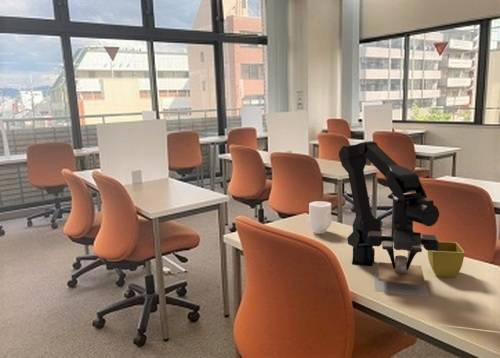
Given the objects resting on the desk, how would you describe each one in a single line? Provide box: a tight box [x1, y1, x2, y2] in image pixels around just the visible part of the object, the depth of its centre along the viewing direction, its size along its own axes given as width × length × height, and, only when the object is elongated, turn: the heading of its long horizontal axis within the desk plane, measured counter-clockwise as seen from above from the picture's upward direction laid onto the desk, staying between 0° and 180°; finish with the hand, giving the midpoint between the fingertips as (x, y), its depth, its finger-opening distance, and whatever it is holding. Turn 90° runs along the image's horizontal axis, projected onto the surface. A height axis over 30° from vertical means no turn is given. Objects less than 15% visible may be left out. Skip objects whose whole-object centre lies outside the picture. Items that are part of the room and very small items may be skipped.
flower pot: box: [427, 241, 466, 278], centre depth 125 cm, size 9×9×9 cm
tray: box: [374, 270, 429, 297], centre depth 120 cm, size 14×14×1 cm
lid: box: [378, 254, 426, 285], centre depth 119 cm, size 12×12×5 cm
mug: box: [308, 200, 333, 235], centre depth 167 cm, size 12×9×12 cm
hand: (400, 268), depth 119 cm, fingers closed on lid, 3 cm apart
